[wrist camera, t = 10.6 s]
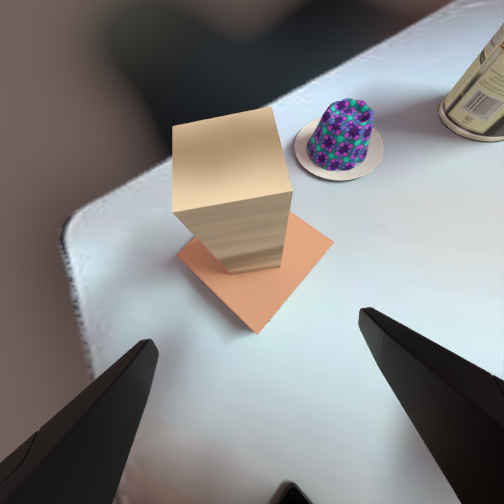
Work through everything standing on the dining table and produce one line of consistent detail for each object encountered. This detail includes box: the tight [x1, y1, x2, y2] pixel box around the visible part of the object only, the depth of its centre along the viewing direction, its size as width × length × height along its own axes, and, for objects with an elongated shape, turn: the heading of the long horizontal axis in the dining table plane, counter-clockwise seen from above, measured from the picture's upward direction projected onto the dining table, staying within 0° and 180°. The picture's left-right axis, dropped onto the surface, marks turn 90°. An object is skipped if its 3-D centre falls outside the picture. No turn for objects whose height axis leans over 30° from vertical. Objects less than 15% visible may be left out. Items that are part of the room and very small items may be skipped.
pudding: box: [294, 98, 384, 181], centre depth 25 cm, size 12×12×5 cm
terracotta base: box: [177, 211, 334, 335], centre depth 22 cm, size 12×12×3 cm
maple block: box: [172, 107, 293, 275], centre depth 14 cm, size 5×5×12 cm
